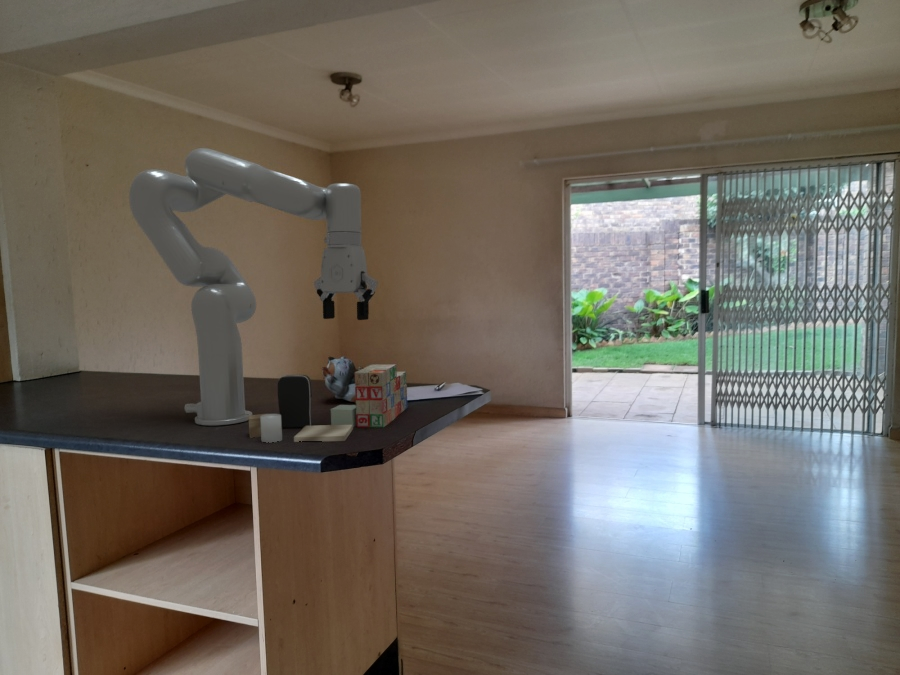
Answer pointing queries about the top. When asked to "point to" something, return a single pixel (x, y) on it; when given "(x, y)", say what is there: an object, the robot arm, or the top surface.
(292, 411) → the battery
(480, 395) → the top surface
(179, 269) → the robot arm
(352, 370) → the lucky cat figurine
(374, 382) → the stack of blocks
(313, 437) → the birch coaster
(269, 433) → the grey rounded block
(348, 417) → the sage block
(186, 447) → the top surface
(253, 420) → the oak block
